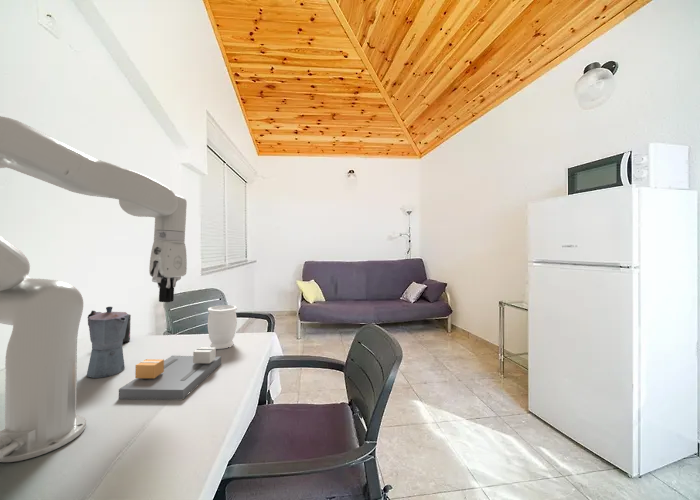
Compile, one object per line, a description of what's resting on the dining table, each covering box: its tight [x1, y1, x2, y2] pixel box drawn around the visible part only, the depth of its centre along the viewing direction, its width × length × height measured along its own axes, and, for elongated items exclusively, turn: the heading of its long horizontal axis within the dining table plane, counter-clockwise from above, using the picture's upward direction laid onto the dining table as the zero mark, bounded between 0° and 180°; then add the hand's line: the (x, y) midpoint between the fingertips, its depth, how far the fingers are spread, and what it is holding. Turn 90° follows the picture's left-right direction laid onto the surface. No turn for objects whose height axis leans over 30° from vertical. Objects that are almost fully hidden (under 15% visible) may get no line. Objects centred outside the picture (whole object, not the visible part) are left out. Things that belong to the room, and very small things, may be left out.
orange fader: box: [134, 358, 165, 379], centre depth 78 cm, size 4×5×4 cm
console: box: [118, 355, 222, 401], centre depth 82 cm, size 22×16×3 cm
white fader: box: [192, 346, 217, 363], centre depth 88 cm, size 4×5×4 cm
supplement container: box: [122, 313, 132, 345], centre depth 111 cm, size 7×7×10 cm
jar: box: [207, 304, 238, 350], centre depth 110 cm, size 11×10×15 cm
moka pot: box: [86, 306, 130, 379], centre depth 85 cm, size 10×15×20 cm, turn 78°
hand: (166, 301), depth 81 cm, fingers closed
